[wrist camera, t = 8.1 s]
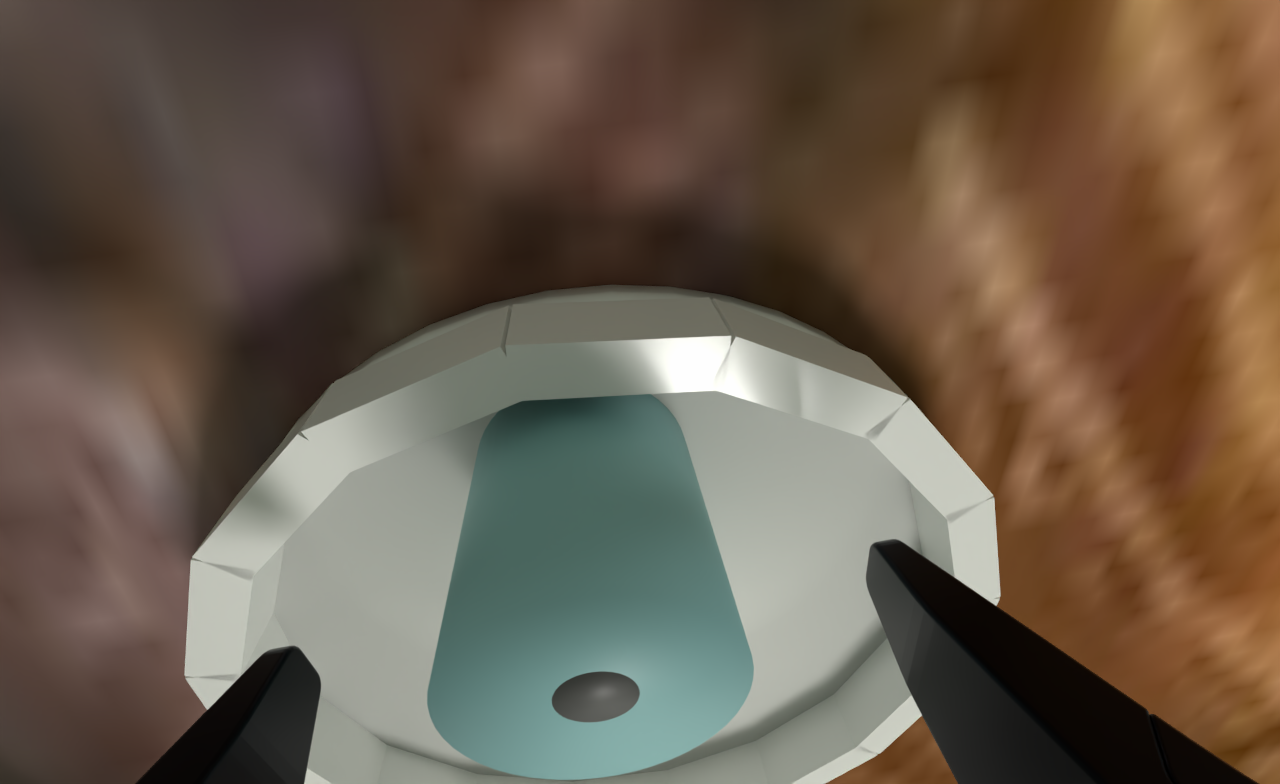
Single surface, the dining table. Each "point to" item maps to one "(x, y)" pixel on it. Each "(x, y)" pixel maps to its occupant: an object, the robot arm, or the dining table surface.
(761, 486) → the groove dish
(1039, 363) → the dining table surface
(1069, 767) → the robot arm
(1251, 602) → the dining table surface
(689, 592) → the teal bead
